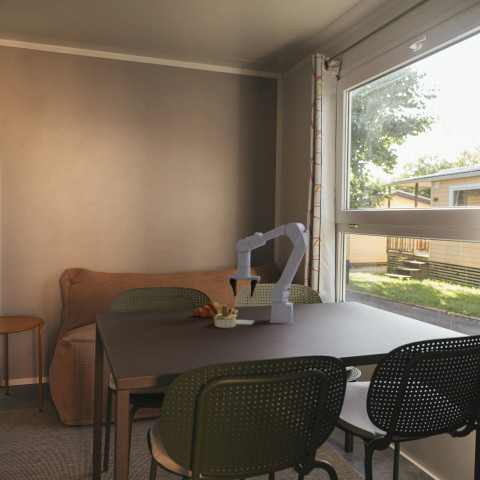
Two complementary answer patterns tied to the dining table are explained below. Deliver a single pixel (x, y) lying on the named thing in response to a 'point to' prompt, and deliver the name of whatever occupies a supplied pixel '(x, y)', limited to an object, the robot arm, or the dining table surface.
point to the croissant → (212, 310)
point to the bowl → (225, 323)
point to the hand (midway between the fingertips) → (243, 296)
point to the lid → (225, 314)
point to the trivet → (245, 322)
